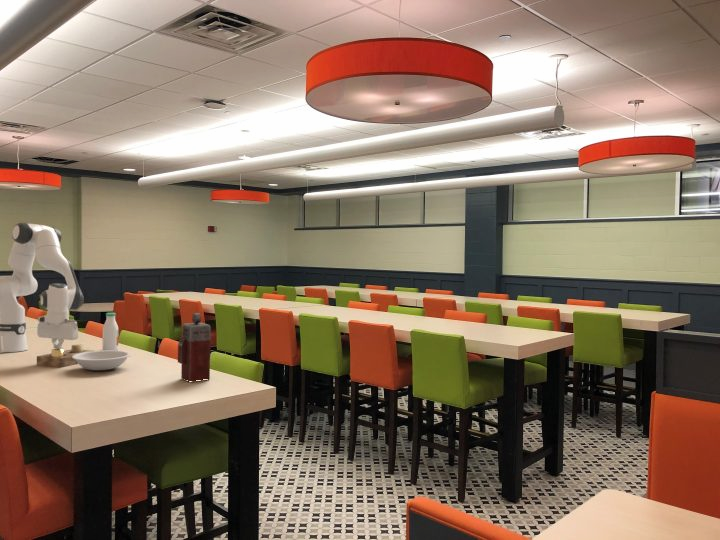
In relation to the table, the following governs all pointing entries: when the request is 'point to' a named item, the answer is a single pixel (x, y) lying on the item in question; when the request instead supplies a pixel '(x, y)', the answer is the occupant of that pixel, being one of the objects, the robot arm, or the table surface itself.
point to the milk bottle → (110, 333)
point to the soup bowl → (101, 359)
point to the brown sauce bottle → (195, 350)
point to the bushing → (57, 352)
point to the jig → (61, 361)
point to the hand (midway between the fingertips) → (57, 348)
